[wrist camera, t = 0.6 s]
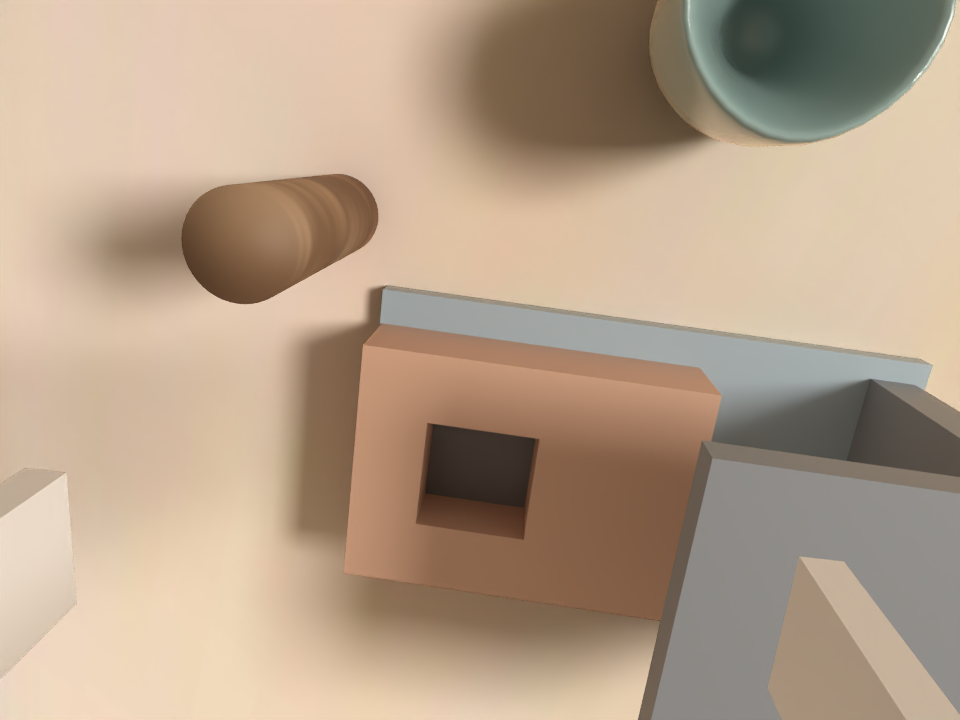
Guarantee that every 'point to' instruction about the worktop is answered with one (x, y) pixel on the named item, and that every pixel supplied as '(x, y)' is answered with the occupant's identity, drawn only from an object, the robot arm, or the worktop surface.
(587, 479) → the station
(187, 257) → the peg
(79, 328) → the worktop surface
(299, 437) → the worktop surface
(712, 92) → the cup
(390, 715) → the worktop surface
